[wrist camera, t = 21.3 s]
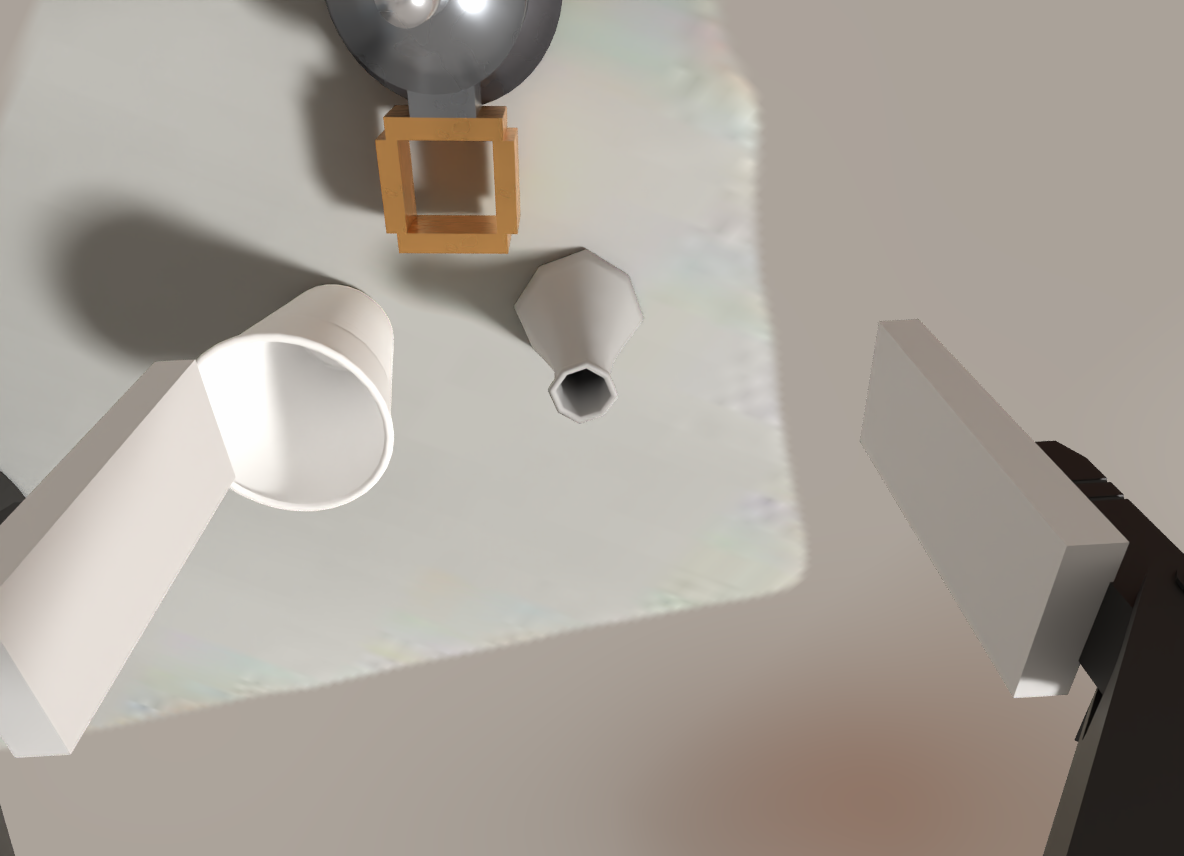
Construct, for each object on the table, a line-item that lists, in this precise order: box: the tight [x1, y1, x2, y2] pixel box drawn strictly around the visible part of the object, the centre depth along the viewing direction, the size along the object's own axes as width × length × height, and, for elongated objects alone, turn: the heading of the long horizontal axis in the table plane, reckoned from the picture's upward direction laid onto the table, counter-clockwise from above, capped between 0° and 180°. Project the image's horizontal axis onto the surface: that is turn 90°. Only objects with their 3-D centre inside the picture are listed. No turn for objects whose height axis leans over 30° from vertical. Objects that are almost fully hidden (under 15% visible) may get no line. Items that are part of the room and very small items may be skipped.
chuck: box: [327, 0, 529, 254], centre depth 34 cm, size 16×8×10 cm, turn 179°
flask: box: [514, 249, 644, 424], centre depth 42 cm, size 7×7×10 cm
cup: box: [196, 284, 394, 511], centre depth 42 cm, size 10×10×11 cm
